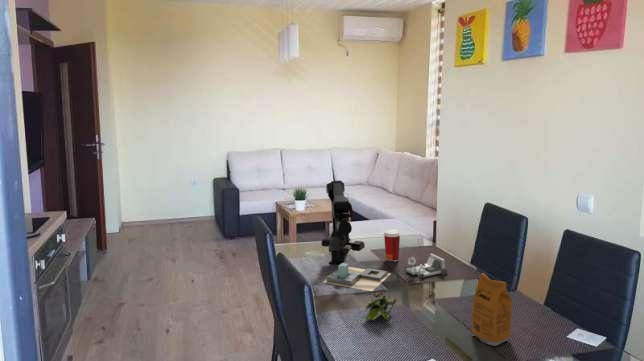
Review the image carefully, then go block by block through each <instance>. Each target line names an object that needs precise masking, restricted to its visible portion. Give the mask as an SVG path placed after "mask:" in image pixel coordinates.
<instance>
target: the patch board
mask: <svg viewBox="0 0 644 361" xmlns="http://www.w3.org/2000/svg"><path fill="white" fill-rule="evenodd" d="M348 269H349V272H355V273H362V272H363V271H365V270H366V269H367V268H366V269H365V268H359V267H351V266H348ZM370 275H374V276H376V275H377V274H375V273H371V274H370ZM391 275H392V273H391V272H388V274H387V275H386V276H385V277H384V278H382V279H381V280H380V281H379V280H373V279H367V278H360V279H359V280H358V281H357V282H355V283H354V284H353V285H352V286H348V285H342V284H337V283H331V282H327V278H326V279H324V280H323V281H322V283H323V284H329V285H334V286H340V287H346V288H351V289H357V290H362V291H366V292H367V291H368V292H373V291H375V290H376V288H378V287H379V286H380V285H381V284H382V283H383V282H384V281H385V280H386V279H388V278H389V277H390V276H391Z"/></svg>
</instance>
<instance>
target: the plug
mask: <svg viewBox="0 0 644 361" xmlns="http://www.w3.org/2000/svg"><path fill="white" fill-rule="evenodd" d="M348 267H349V263H346V262H344V263H342V264H340V265H338V267H337V268H338V269H337V270H338V272H339V277H342V278H346V277H348V276H349V269H348Z"/></svg>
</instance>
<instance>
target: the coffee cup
mask: <svg viewBox="0 0 644 361" xmlns="http://www.w3.org/2000/svg"><path fill="white" fill-rule="evenodd" d="M382 235H383V236H384V239H383V240H384V250H385V260H386V259H388V260H393V261H394V260H398V259H399V258H400V241H401V240H400V238H401V237H400V236H401V232H400V231H399V230H398V229H387V230H385V231H384V232H383V234H382ZM399 260H400V259H399ZM399 260H398V261H399Z"/></svg>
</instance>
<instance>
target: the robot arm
mask: <svg viewBox="0 0 644 361" xmlns="http://www.w3.org/2000/svg"><path fill="white" fill-rule="evenodd" d="M325 186H326V187H325V188H326V189H325V192H326V194H327V196H328V198H329V200H330V206H331V225H332V226H331V227H332V228H331V229H332V230H331V232H330V234H329V236H327V237H325V238H323V239H322V240H321V247H326V248H328V249H327V250H328V252H329V253H331V256H330V257H331V260H330V261H328V263H329V264H333V265H338V266H339V265H340V264H342V263H346V261H347V257H348V254H349V252H350V251H351V250H352V251H354V252H360V251H362V250H363V249H365V247H366V245H365V243H364V241H362V240H354V241H353V242H351V238H350V233H351V232H352V229H353V228H352V227H353V226H352V224H351V222H350V219H349V218H353V214H354V213H353V212H354V211H353V205H352V203H351V202H350V200H349V198H348V197H346V196H345V194H344V193H345V191H346V190H345V182H343V181H342V180H341V179H340V180H332V181H330V182H329V183H326V185H325Z"/></svg>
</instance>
